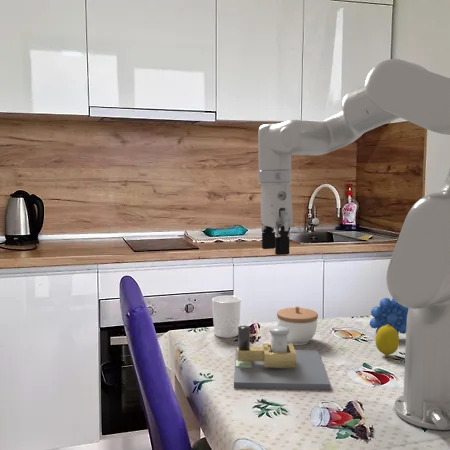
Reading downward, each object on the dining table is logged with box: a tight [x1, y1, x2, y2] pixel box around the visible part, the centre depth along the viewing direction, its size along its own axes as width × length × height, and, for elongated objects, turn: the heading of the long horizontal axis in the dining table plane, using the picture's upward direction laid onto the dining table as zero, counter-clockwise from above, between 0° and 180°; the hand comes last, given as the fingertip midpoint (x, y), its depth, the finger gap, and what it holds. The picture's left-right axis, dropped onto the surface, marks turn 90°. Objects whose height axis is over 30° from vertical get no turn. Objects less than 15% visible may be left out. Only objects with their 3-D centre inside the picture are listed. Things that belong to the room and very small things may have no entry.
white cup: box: [211, 294, 242, 339], centre depth 142 cm, size 8×8×10 cm
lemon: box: [374, 324, 400, 357], centre depth 126 cm, size 6×6×8 cm
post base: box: [233, 325, 331, 391], centre depth 117 cm, size 20×20×10 cm
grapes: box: [369, 297, 408, 335], centre depth 139 cm, size 12×7×12 cm, turn 72°
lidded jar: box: [276, 306, 319, 346], centre depth 137 cm, size 11×11×9 cm
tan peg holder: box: [237, 325, 296, 368], centre depth 117 cm, size 13×7×8 cm, turn 90°
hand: (275, 251), depth 121 cm, fingers open, 9 cm apart
